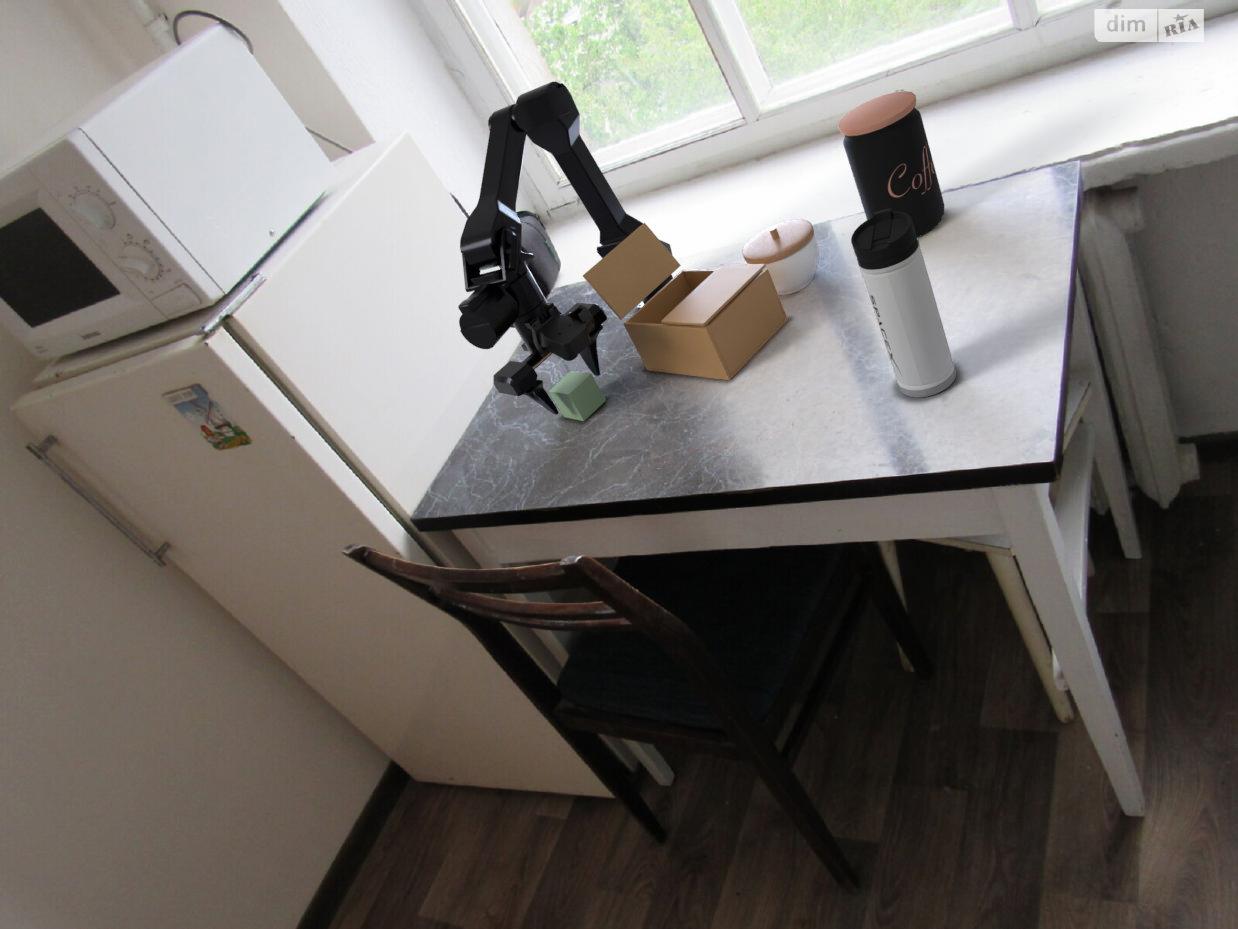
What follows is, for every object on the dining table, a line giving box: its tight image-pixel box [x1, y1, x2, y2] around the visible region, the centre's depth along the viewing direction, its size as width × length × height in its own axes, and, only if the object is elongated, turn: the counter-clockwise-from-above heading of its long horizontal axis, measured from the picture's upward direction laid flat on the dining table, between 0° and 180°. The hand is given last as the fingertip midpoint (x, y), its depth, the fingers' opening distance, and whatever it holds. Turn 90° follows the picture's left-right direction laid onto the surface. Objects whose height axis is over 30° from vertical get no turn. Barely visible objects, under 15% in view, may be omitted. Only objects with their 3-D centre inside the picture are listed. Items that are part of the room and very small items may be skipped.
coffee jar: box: [837, 90, 945, 238], centre depth 124 cm, size 11×11×18 cm
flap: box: [582, 222, 681, 321], centre depth 128 cm, size 8×14×1 cm
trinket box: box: [741, 218, 820, 296], centre depth 128 cm, size 11×11×9 cm
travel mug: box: [850, 208, 957, 398], centre depth 93 cm, size 6×7×20 cm
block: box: [548, 370, 607, 422], centre depth 128 cm, size 5×5×5 cm
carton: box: [623, 263, 789, 381], centre depth 124 cm, size 17×14×9 cm
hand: (577, 394), depth 128 cm, fingers open, 9 cm apart
